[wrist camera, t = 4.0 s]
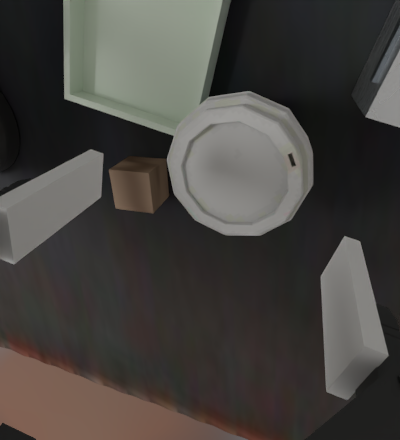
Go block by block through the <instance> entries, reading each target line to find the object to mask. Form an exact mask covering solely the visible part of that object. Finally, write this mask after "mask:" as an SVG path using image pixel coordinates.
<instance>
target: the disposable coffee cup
mask: <svg viewBox="0 0 400 440" xmlns="http://www.w3.org/2000/svg"><path fill="white" fill-rule="evenodd" d="M167 164H168V169H169V174H170V178H171V183H172V188H173V192H174V195H175V196H176V197H177V198H178V200H179V201H180V202H181V203H182V205H183V206H184V207H185V208H186V210H187V211H188V212H189V213H190V215H191V216H192V217H193V218H194V220H195V221H197V222H199V223H201V224H203V225H205V226H207V227H210V228H212V229H214V230H216V231H218V232H220V233H222V234H224V235H230V236H261V235H263V234H265V233H266V232H268V231H270V230H272V229H274V228H276V227H278V226H280V225H282V224H284V223H286V222H288V221H290V220H291V219H292V218H293V216H294V215H295V213H296V211H297V210H298V208H299V207H300V205H301V203H302V202H303V200H304V199H305V197H306V195H307V194H308V192H309V191H310V189H311V187H312V185H313V151H312V148H311V145H310V141H309V138H308V136H307V135H306V133H305V132H304V130H303V129H302V127H301V126H300V124H299V123H298V121H297V120H296V118H295V117H294V115H293V114H292V112H291V111H290V109H289V108H287V107H285V106H282V105H280V104H278V103H276V102H273V101H271V100H269V99H267V98H264V97H262V96H260V95H258V94H255V93H253V92H251V91H246V92H239V93H232V94H226V95H219V96H212V97H208V98H207V99H206V100H205V101H204V102H202V103H201V104H200V105H199V106H198V107H197V108H196V109H194V110H193V111H192V112H191V113H190V114H189V115H187V116H186V117H185V118H184V119H183V120H182V121H181V122H180V123H179V125H178V126H177V128H176V131H175V134H174V138H173V141H172V144H171V147H170V151H169V154H168V157H167Z"/></svg>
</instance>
